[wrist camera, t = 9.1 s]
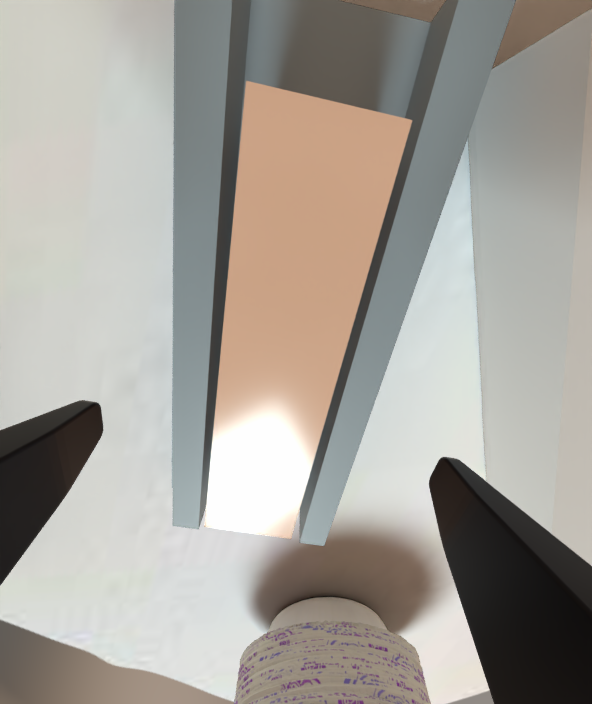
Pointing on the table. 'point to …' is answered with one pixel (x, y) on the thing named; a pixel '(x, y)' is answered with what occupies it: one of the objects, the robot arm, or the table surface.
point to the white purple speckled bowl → (330, 659)
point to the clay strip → (292, 293)
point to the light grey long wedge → (537, 279)
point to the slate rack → (221, 177)
